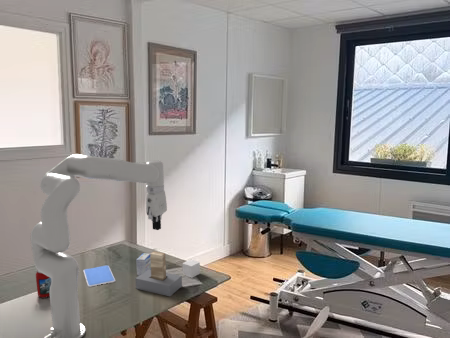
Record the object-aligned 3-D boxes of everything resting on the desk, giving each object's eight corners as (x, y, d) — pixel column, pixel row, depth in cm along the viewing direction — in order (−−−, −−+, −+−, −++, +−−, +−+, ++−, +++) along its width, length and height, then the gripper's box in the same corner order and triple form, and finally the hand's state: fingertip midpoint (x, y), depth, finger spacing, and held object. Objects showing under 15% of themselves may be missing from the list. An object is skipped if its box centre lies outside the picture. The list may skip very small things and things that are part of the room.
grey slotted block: (169, 296, 181) (169, 285, 180) (135, 288, 188) (135, 278, 187) (181, 285, 191) (181, 275, 190) (149, 278, 198) (148, 269, 197)
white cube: (199, 273, 203) (199, 262, 202) (191, 278, 199) (191, 266, 197) (191, 270, 207) (191, 259, 206) (182, 274, 202) (182, 263, 201)
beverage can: (44, 300, 178) (41, 274, 176) (34, 296, 182) (31, 270, 179) (57, 293, 184) (55, 268, 182) (48, 289, 187) (45, 265, 185)
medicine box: (145, 276, 200) (144, 259, 198) (136, 275, 201) (136, 259, 199) (151, 269, 208) (150, 253, 206) (143, 268, 209) (142, 252, 207)
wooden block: (162, 280, 186) (161, 255, 184) (151, 278, 188) (150, 253, 186) (166, 277, 189) (165, 253, 186) (155, 275, 191) (154, 251, 189)
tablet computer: (116, 282, 195) (115, 280, 195) (88, 288, 190) (88, 285, 189) (108, 267, 212) (108, 264, 212) (83, 271, 207) (82, 269, 207)
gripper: (152, 194, 172) (154, 235, 176) (171, 186, 186) (172, 225, 189) (137, 192, 175) (139, 233, 179) (157, 184, 189) (159, 222, 192)
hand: (156, 228), depth 184 cm, fingers closed
